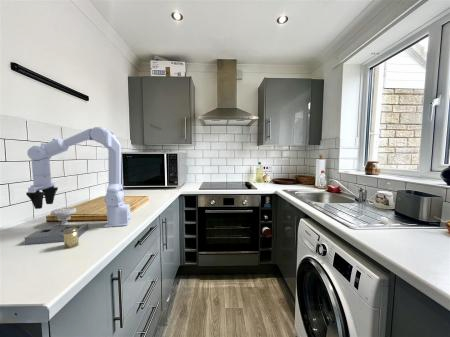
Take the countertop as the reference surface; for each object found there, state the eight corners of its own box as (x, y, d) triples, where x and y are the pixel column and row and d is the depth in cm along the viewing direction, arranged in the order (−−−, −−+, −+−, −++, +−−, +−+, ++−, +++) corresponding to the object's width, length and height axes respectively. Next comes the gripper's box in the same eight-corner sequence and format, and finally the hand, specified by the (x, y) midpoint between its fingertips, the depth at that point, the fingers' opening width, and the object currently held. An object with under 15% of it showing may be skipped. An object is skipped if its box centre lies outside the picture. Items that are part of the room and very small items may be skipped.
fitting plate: (88, 228, 90) (88, 222, 89) (75, 240, 78) (74, 233, 78) (45, 232, 86) (45, 225, 86) (24, 244, 74) (24, 237, 74)
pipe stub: (80, 242, 76) (79, 227, 75) (75, 247, 72) (74, 231, 71) (68, 244, 75) (67, 227, 74) (62, 249, 71) (60, 232, 70)
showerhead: (43, 211, 91) (63, 205, 101) (44, 227, 92) (64, 219, 102) (62, 211, 90) (81, 205, 100) (64, 227, 91) (81, 220, 101)
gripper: (41, 173, 94) (44, 202, 95) (17, 177, 80) (20, 211, 81) (59, 172, 95) (61, 201, 96) (39, 176, 81) (41, 210, 82)
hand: (44, 206), depth 89 cm, fingers open, 7 cm apart
